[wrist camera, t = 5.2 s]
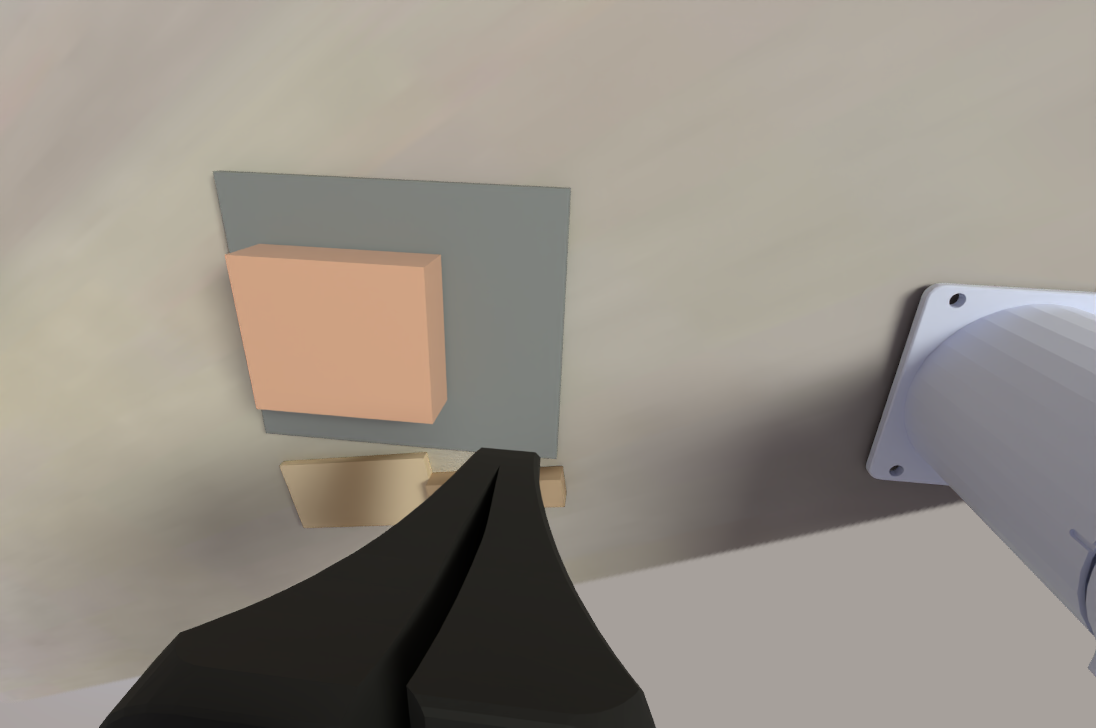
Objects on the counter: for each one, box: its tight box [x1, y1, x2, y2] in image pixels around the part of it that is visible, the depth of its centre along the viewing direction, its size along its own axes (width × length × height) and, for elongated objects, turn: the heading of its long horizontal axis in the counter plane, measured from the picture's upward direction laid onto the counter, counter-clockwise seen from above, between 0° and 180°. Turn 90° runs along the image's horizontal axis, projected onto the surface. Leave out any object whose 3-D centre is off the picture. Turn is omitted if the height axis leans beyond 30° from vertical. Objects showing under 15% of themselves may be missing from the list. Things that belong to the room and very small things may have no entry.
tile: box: [225, 244, 447, 424], centre depth 20 cm, size 2×6×7 cm
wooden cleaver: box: [280, 452, 567, 528], centre depth 24 cm, size 13×4×1 cm, turn 98°
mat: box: [213, 171, 571, 459], centre depth 21 cm, size 13×11×1 cm
